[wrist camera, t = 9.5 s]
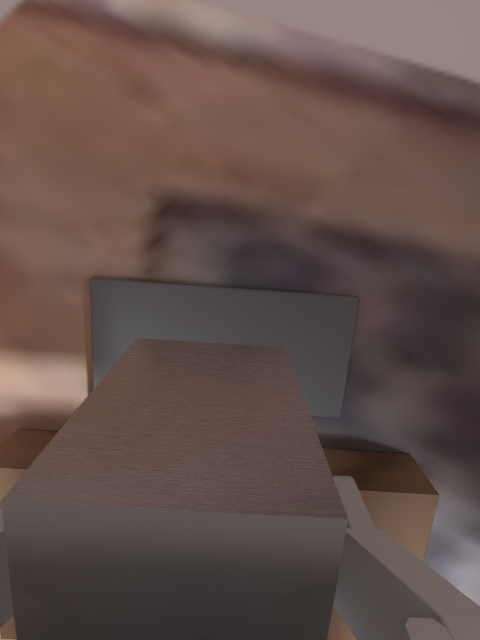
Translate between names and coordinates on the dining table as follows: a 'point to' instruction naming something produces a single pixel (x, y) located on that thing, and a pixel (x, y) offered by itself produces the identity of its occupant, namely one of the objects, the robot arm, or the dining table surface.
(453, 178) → the dining table surface
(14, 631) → the brown stepped block
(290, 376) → the lever cap
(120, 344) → the rest mat
